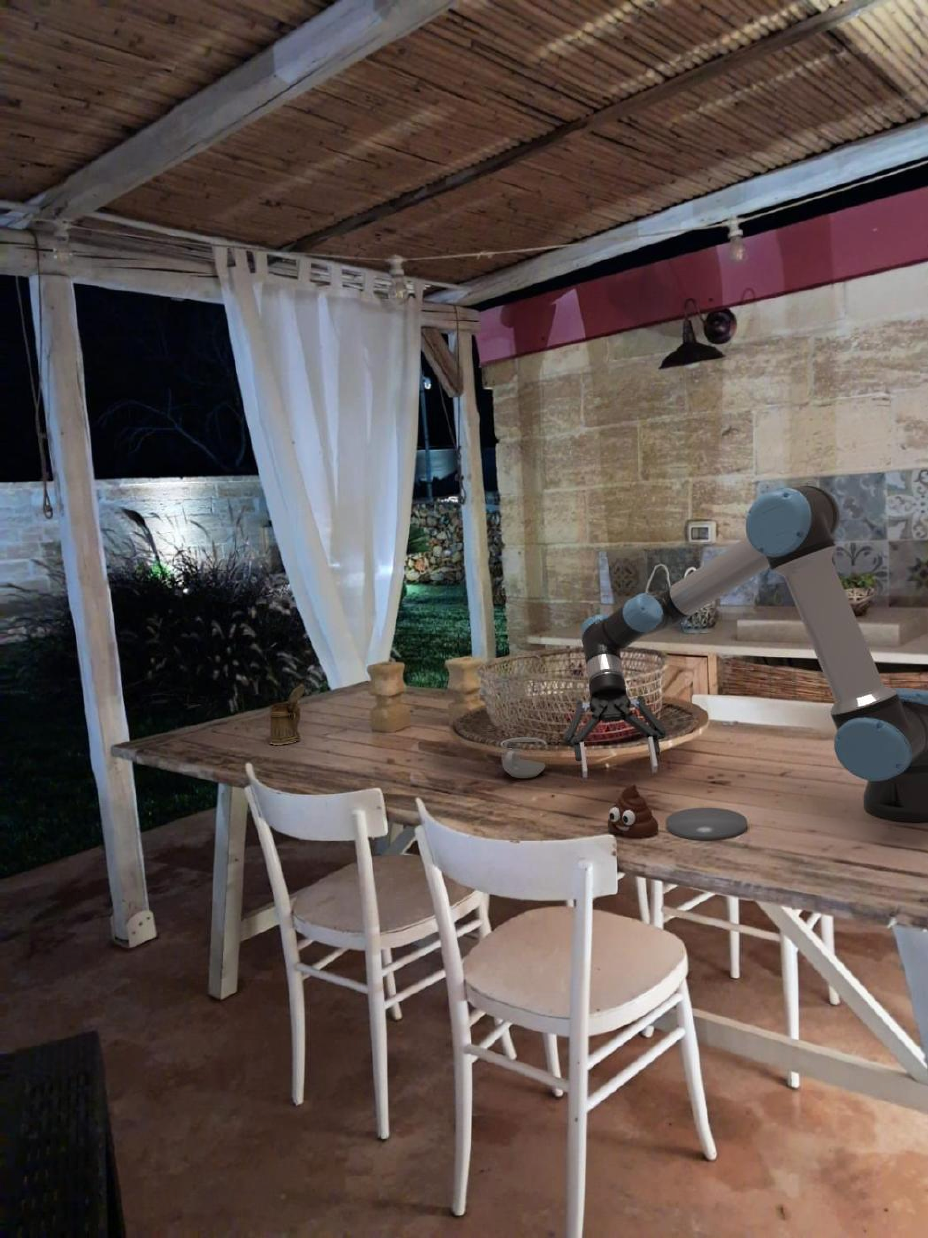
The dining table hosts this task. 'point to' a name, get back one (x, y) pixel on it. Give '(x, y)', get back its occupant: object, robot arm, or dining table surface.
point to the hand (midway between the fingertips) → (620, 772)
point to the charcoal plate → (706, 823)
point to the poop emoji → (632, 815)
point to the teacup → (521, 760)
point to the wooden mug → (286, 718)
